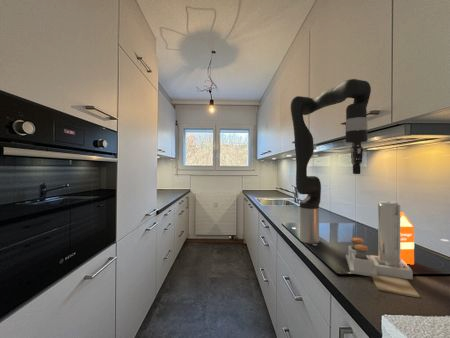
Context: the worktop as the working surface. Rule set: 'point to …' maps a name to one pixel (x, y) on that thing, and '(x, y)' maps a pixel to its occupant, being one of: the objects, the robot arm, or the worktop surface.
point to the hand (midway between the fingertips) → (356, 173)
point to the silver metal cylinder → (389, 234)
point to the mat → (394, 285)
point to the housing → (376, 266)
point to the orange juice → (406, 239)
